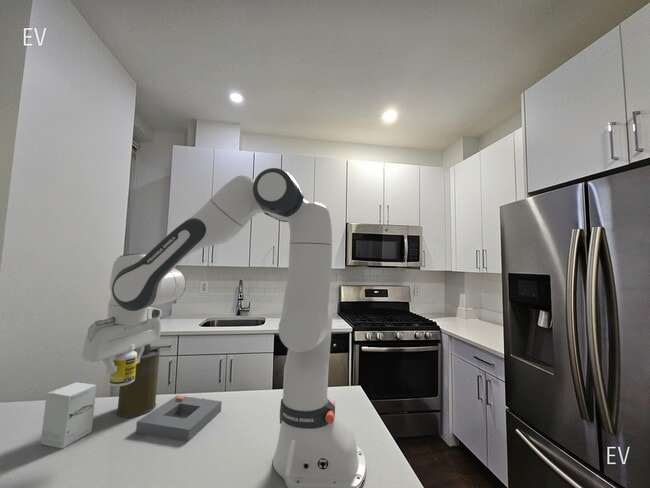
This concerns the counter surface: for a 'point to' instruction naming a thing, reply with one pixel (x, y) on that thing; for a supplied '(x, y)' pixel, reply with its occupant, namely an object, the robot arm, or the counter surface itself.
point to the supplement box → (68, 414)
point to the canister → (141, 386)
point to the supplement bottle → (124, 368)
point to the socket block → (179, 428)
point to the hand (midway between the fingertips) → (123, 368)
